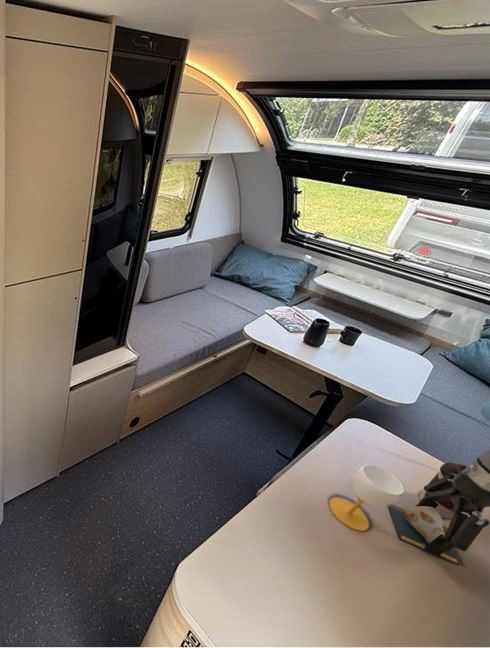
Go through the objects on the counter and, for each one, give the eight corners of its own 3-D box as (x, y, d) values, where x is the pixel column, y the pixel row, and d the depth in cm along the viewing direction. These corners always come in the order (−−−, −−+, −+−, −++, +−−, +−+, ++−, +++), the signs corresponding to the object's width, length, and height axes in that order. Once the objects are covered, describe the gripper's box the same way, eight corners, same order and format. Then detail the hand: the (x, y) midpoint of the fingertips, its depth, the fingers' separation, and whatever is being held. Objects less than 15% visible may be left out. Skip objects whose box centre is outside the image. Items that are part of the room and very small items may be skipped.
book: (442, 529, 97) (443, 528, 96) (458, 565, 89) (460, 564, 89) (387, 506, 101) (388, 505, 101) (399, 539, 93) (400, 538, 93)
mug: (428, 556, 90) (427, 518, 89) (397, 531, 99) (395, 496, 99) (464, 558, 88) (462, 519, 88) (428, 531, 98) (427, 496, 97)
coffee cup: (444, 528, 97) (485, 496, 89) (404, 494, 105) (438, 462, 97) (466, 519, 100) (508, 488, 92) (425, 487, 108) (460, 455, 100)
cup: (325, 512, 98) (358, 477, 90) (332, 491, 104) (363, 456, 95) (366, 538, 93) (404, 503, 84) (370, 515, 98) (406, 480, 90)
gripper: (444, 441, 93) (392, 490, 105) (489, 516, 76) (421, 565, 87) (482, 454, 90) (425, 503, 102) (538, 535, 73) (461, 584, 84)
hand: (423, 532), depth 94 cm, fingers closed on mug, 10 cm apart
